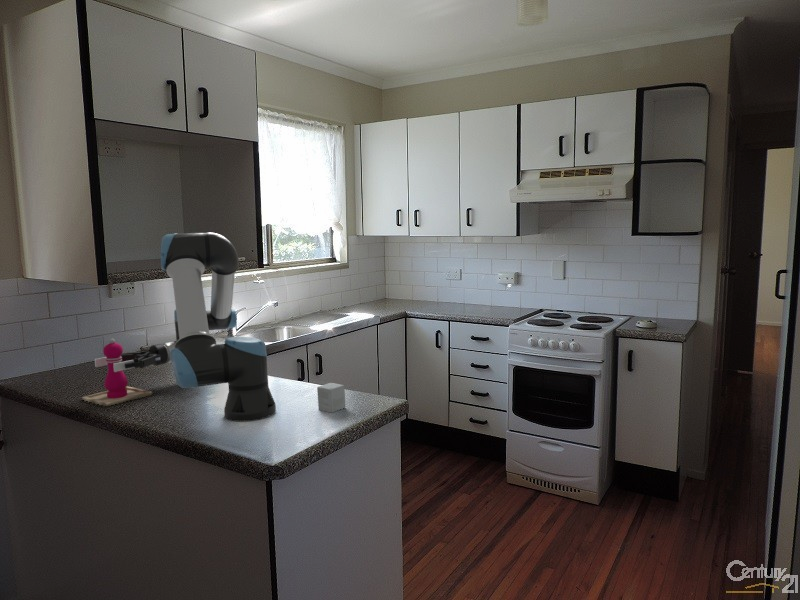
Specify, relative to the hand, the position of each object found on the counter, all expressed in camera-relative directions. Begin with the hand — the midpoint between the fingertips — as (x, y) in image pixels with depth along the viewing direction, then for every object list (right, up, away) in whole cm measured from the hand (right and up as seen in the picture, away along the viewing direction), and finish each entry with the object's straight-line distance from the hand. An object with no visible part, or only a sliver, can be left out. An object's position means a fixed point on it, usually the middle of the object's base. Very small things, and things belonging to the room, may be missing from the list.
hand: (104, 365), depth 200 cm
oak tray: (+2, -12, +4) cm, 12 cm away
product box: (+79, -12, -18) cm, 82 cm away
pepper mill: (+3, -11, +4) cm, 12 cm away
